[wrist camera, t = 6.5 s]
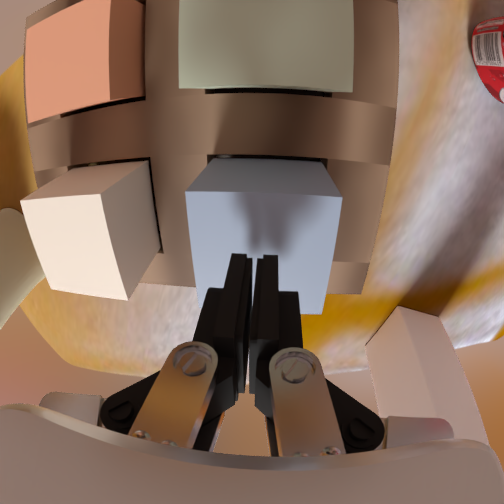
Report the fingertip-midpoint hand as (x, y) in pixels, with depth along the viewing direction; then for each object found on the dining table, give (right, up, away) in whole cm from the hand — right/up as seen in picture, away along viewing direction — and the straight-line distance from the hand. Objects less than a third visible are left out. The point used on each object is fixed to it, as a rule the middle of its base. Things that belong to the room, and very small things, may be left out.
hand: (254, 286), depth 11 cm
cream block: (-9, +4, +7) cm, 12 cm away
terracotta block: (-9, +14, +3) cm, 17 cm away
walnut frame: (-4, +9, +6) cm, 12 cm away
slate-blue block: (+1, +4, +6) cm, 7 cm away
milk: (+15, -7, +14) cm, 22 cm away
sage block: (+1, +12, +1) cm, 12 cm away
